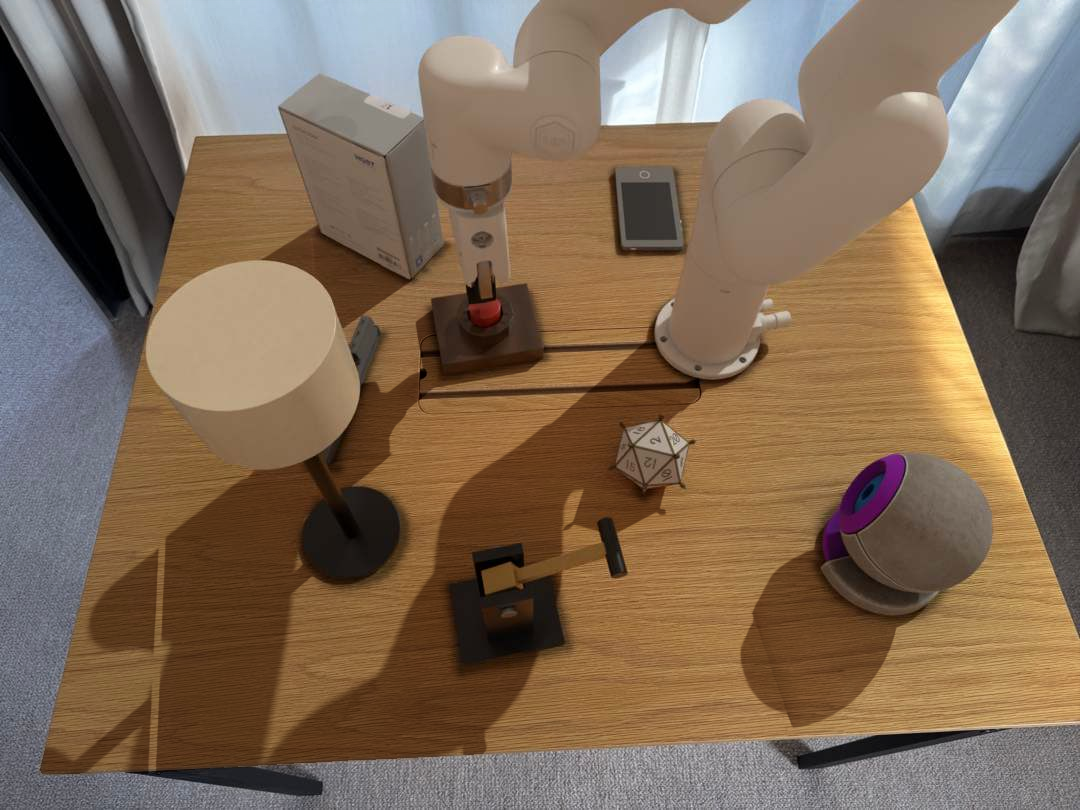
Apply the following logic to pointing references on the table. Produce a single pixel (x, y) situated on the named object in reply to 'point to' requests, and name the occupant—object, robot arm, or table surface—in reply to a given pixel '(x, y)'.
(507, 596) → the switch bracket
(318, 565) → the desk lamp
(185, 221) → the table surface
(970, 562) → the webcam
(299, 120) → the hard drive box
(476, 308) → the red push button
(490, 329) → the button block
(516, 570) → the tan handled piece
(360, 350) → the grey long bar
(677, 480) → the game die
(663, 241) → the smartphone
